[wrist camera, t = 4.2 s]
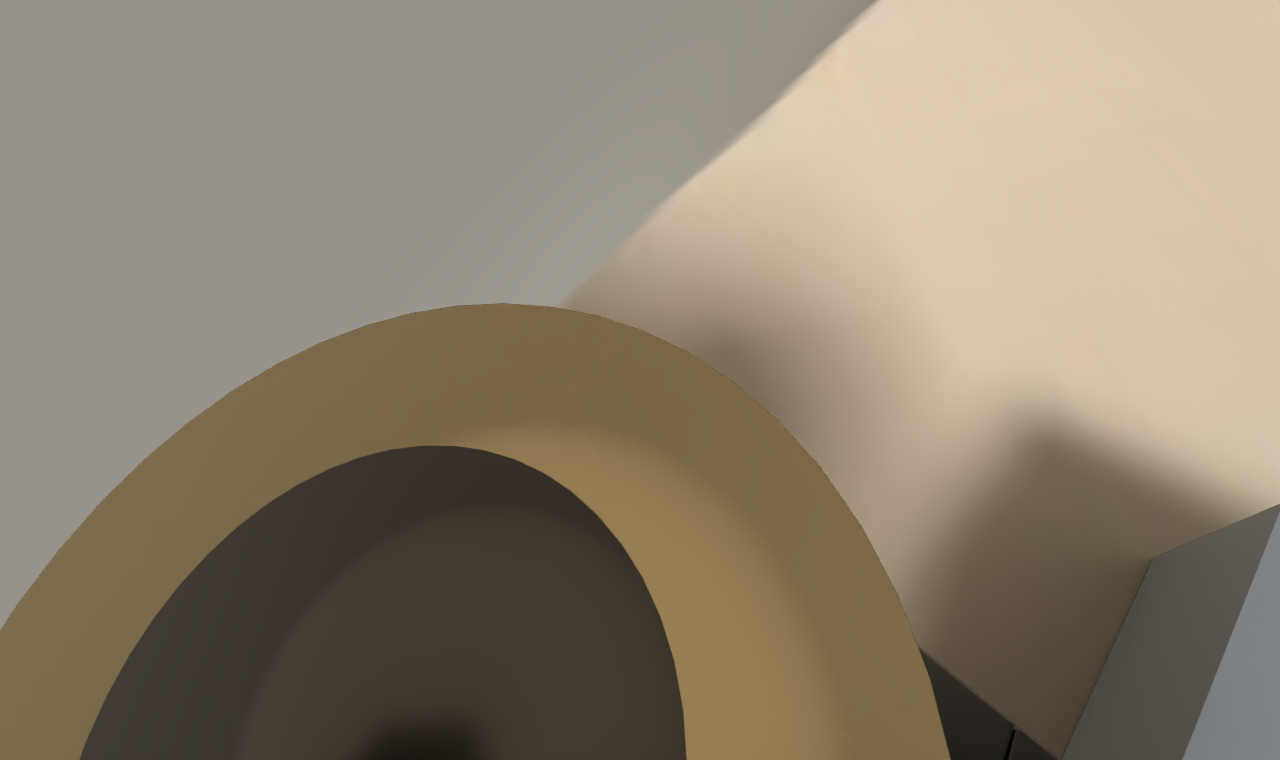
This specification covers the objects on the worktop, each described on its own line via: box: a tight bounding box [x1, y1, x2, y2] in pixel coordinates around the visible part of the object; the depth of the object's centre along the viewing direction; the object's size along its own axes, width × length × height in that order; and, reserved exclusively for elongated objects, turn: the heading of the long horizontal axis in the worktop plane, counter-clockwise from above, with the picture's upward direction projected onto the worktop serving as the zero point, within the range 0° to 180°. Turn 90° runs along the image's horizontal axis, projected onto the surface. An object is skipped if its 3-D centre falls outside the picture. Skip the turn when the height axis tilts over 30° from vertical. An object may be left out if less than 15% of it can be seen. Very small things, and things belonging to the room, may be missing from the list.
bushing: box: [0, 304, 951, 760], centre depth 8 cm, size 4×4×13 cm
